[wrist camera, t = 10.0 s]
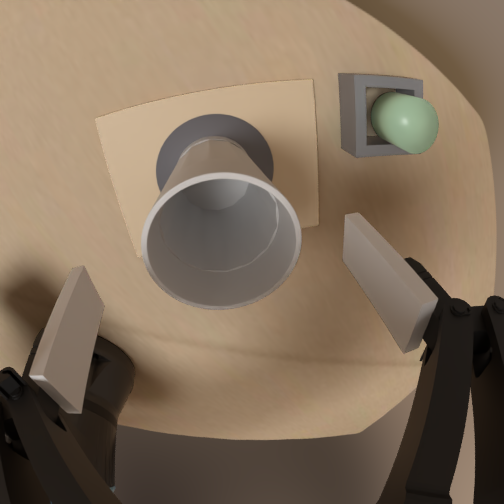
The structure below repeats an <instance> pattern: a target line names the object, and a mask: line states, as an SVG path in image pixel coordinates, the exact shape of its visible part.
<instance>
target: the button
mask: <svg viewBox="0 0 504 504" xmlns="http://www.w3.org/2000/svg"><path fill="white" fill-rule="evenodd" d="M371 123H372V126H373V129H374V131H375V132H376V134H377V135H378V136H379V137H380V138H382V139H383V140H385V141H387V142H389V143H391V144H393V145H395V146H397V147H399V148H401V149H403V150H405V151H407V152H409V153H412V154H419V153H423V152H425V151H426V150H428V149H429V148H430V147H431V146H432V144H433V143H434V141H435V139H436V137H437V134H438V127H439V123H438V116H437V113H436V111H435V109H434V107H433V106H432V105H431V104H430V103H429V102H428V101H426V100H425V99H422V98H418V97H414V96H410V95H406V94H401V93H397V92H387V93H384V94H382V95H381V96H379V97H378V98H377V100H376V101H375V103H374V105H373V107H372V111H371Z"/></svg>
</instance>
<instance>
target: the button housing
mask: <svg viewBox="0 0 504 504" xmlns="http://www.w3.org/2000/svg"><path fill="white" fill-rule="evenodd" d="M338 79H339V95H340V116H341V148H342V149H343V150H345V151H346V152H348V153H349V154H351V155H353V156H354V157H356V158H359V157H371V156H386V155H405V154H412V153H409V152H407V151H405V150H403V149H401V148H399V147H397V146H395V145H393V144H391V143H389V142H387V141H385V140H383V139H382V138H380V137H379V136H367V118H366V87H381V88H396V92H397V93H401V94H406V95H410V96H414V97H418V98H422V99H423V80H419V79H413V78H407V77H398V76H387V75H372V74H347V73H338ZM419 154H421V153H419Z"/></svg>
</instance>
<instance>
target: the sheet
mask: <svg viewBox="0 0 504 504" xmlns="http://www.w3.org/2000/svg"><path fill="white" fill-rule="evenodd" d="M95 121H96V125H97V129H98V133H99V137H100V141H101V145H102V149H103V153H104V156H105V160H106V163H107V167H108V170H109V174H110V177H111V181H112V184H113V187H114V190H115V193H116V197H117V200H118V203H119V206H120V209H121V212H122V215H123V218H124V221H125V224H126V227H127V229H128V232H129V235H130V238H131V240H132V243H133V246H134V249H135V251H136V254H137V257H138V258H141V257H142V251H141V236H142V230H143V226H144V223H145V221H146V218H147V216H148V214H149V212H150V211H151V209H152V207H153V205H154V203H155V202H156V200H157V198H158V197H159V195H160V193H161V191H162V190H163V188H164V186H165V184H166V182H167V181H168V179H169V177H170V175H171V173H172V172H173V170H174V168H175V166H176V165H177V163H178V160H179V158H180V156H181V154H182V153H183V151H184V150H185V149H186V148H187V147H188V146H189V145H190V144H191V143H193V142H194V141H196V140H198V139H201V138H203V137H208V136H222V137H226V138H229V139H231V140H233V141H235V142H237V143H238V144H239V145H240V146H241V147H242V148H243V149H244V150H245V151H246V153H247V155H248V156H249V157H250V159H251V160H252V161H253V162H254V163H255V164H256V165H257V166H258V168H259V169H260V170H261V171H262V172H263V173H264V175H265V176H266V177H267V178H268V179H269V180H270V181H271V182H272V183H273V184H274V185H275V186H276V188H277V189H278V190H279V191H280V192H281V193H282V194H283V195H284V196H285V197H286V199H287V200H288V201H289V202H290V204H291V205H292V207H293V208H294V210H295V212H296V214H297V217H298V219H299V223H300V227H301V228H307V227H313V226H318V225H319V193H318V157H317V135H316V117H315V102H314V89H313V79H304V80H286V81H273V82H262V83H253V84H244V85H236V86H229V87H222V88H216V89H210V90H204V91H199V92H193V93H188V94H183V95H178V96H174V97H169V98H165V99H161V100H156V101H152V102H148V103H145V104H141V105H137V106H133V107H130V108H126V109H123V110H119V111H116V112H113V113H110V114H107V115H103V116H100V117H97V118H95Z"/></svg>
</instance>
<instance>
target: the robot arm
mask: <svg viewBox="0 0 504 504" xmlns="http://www.w3.org/2000/svg"><path fill="white" fill-rule="evenodd" d="M342 260H343V262H344V263H345V265H346V266H347V267H348V269H349V270H350V272H351V273H352V275H353V276H354V278H355V279H356V281H357V282H358V284H359V285H360V286H361V288H362V289H363V291H364V292H365V294H366V295H367V297H368V298H369V300H370V302H371V303H372V305H373V306H374V308H375V309H376V311H377V312H378V314H379V315H380V317H381V318H382V320H383V322H384V323H385V325H386V326H387V328H388V330H389V331H390V333H391V334H392V336H393V338H394V339H395V341H396V342H397V344H398V346H399V347H400V349H401V351H402V352H403V354H404V353H407V352H409V351H412V350H414V349H417V348H419V346H420V343H421V341H422V339H424V341H425V342H426V344H427V346H426V348H425V350H424V352H423V354H422V356H421V358H420V361H422V360H423V362H422V367H421V372H420V376H419V381H418V385H417V389H416V393H415V398H414V401H413V405H412V409H411V412H410V416H409V419H408V423H407V426H406V430H405V433H404V436H403V439H402V442H401V445H400V448H399V451H398V453H397V457H396V459H395V462H394V464H393V467H392V470H391V472H390V475H389V478H388V480H387V482H386V485H385V487H384V489H383V492H382V494H381V496H380V498H379V500H378V502H377V503H376V504H452V499H451V497H450V495H449V491H450V486H451V483H452V480H453V476H454V473H455V469H456V465H457V461H458V457H459V452H460V448H461V443H462V439H463V434H464V428H465V422H466V417H467V410H468V403H469V395H470V387H471V395H472V405H473V416H474V431H475V487H474V502H473V503H474V504H504V299H503V298H501V297H499V296H490V297H489V298H487V301H486V303H485V305H484V306H473V307H470V305H469V304H468V303H467V302H465V301H464V300H461V299H458V298H451V297H450V296H449V295H448V294H447V293H446V291H445V290H444V289H443V288H442V287H441V286H440V285H439V283H438V282H437V281H436V280H435V279H434V278H432V276H431V275H430V273H429V272H427V270H426V269H425V268H424V267H423V266H422V265H421V264H420V263H419V262H417V261H416V260H414V259H412V258H410V257H409V258H405V259H403V258H402V257H401V256H400V255H399V253H398V252H397V251H396V250H395V249H394V248H393V247H392V246H391V245H390V244H389V243H388V242H387V241H386V240H385V239H384V238H383V237H382V235H381V234H380V233H379V232H378V231H377V230H376V229H375V228H374V227H373V226H372V225H371V224H370V223H369V222H368V221H367V220H366V219H365V218H364V217H363V216H362V215H361V214H360V213H359V212H358V213H352V214H346V215H345V225H344V244H343V259H342ZM104 307H105V306H104V304H103V302H102V300H101V298H100V296H99V294H98V292H97V290H96V289H95V287H94V285H93V283H92V281H91V279H90V277H89V275H88V273H87V271H86V268H85V266H80V267H75V268H72V269H71V271H70V273H69V275H68V278H67V280H66V282H65V284H64V286H63V288H62V290H61V293H60V295H59V297H58V299H57V301H56V304H55V306H54V308H53V311H52V313H51V316H50V318H49V320H48V323H47V325H46V328H43V329H42V330H41V331H40V333H39V334H38V335H37V337H36V339H35V341H34V344H33V348H32V349H31V352H30V355H29V358H28V360H27V363H26V366H25V369H24V372H23V375H22V377H21V376H20V375H19V374H18V373H17V372H16V371H15V370H14V369H13V368H11V367H6V368H4V369H2V370H1V371H0V504H122V503H121V502H120V500H119V499H118V498H117V497H116V496H115V494H114V490H115V485H114V484H115V479H114V477H115V448H116V430H117V420H118V416H119V414H120V412H121V410H122V408H123V407H124V404H125V402H126V400H127V398H128V396H129V394H130V393H131V391H132V388H133V384H134V375H135V370H134V367H133V364H132V362H131V361H130V359H129V358H128V357H127V356H126V355H125V354H124V353H123V352H122V351H121V350H120V349H119V348H117V347H116V346H115V345H113V344H111V343H110V342H108V341H106V340H104V339H102V338H100V337H98V336H97V333H98V329H99V326H100V322H101V318H102V314H103V311H104Z"/></svg>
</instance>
